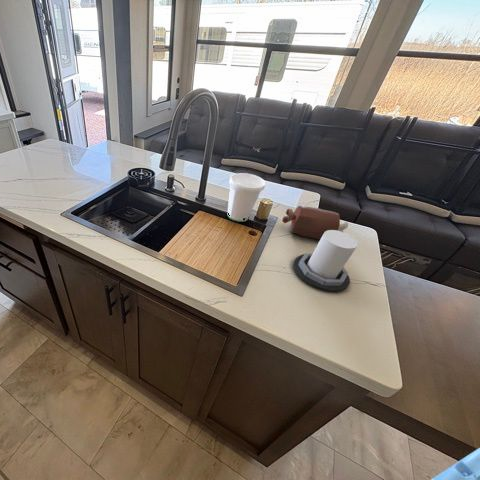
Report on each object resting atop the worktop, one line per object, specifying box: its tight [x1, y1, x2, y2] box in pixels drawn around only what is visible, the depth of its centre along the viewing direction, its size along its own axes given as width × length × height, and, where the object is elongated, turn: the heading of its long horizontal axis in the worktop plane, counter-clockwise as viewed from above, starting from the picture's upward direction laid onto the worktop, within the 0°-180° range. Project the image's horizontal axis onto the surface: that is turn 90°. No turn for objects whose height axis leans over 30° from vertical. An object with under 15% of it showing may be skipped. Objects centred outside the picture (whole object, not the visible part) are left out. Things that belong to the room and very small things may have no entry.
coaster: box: [292, 252, 351, 294], centre depth 76 cm, size 15×15×3 cm
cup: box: [226, 172, 267, 223], centre depth 96 cm, size 12×12×15 cm
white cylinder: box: [307, 230, 359, 279], centre depth 72 cm, size 8×8×12 cm
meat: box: [281, 205, 349, 240], centre depth 89 cm, size 20×12×10 cm, turn 70°
